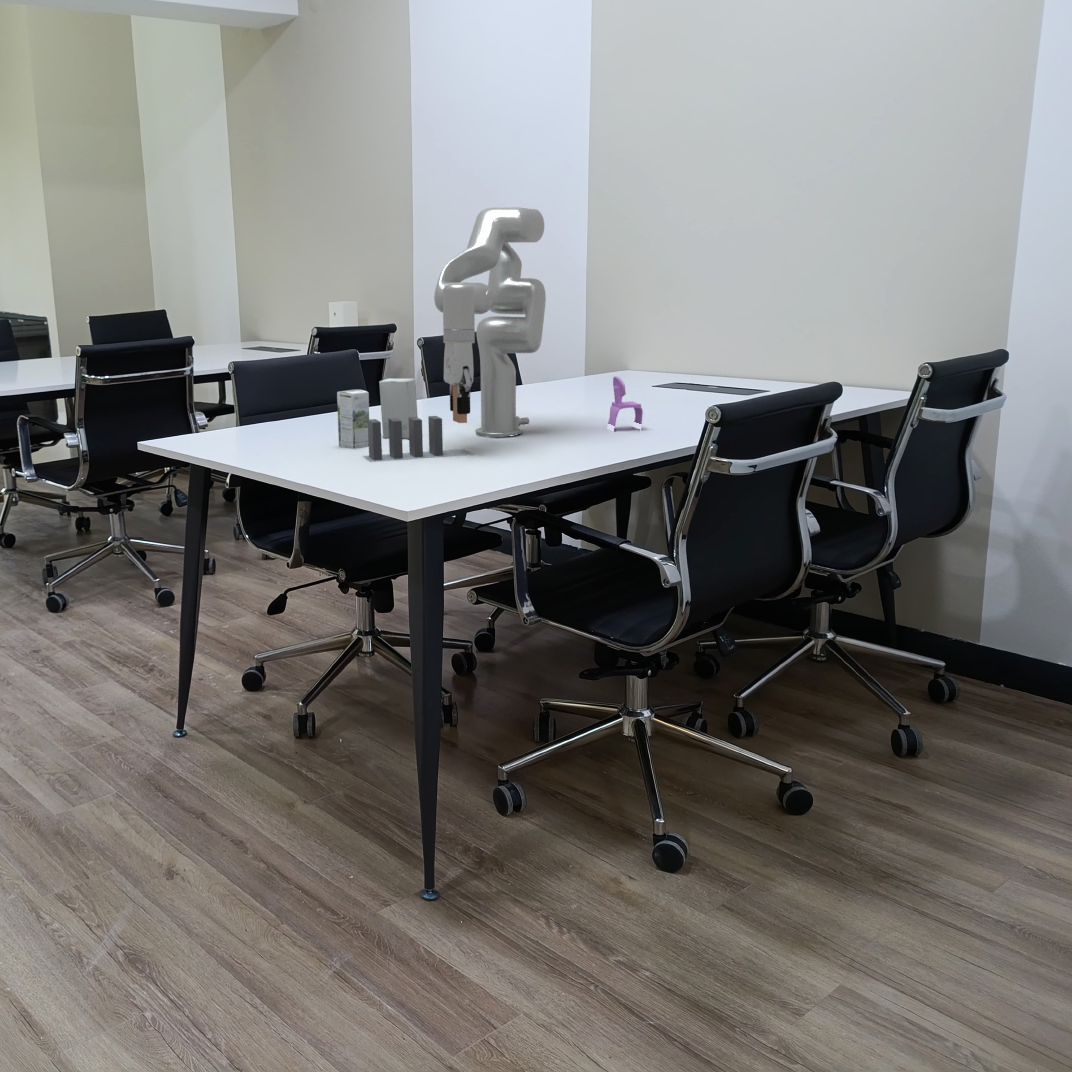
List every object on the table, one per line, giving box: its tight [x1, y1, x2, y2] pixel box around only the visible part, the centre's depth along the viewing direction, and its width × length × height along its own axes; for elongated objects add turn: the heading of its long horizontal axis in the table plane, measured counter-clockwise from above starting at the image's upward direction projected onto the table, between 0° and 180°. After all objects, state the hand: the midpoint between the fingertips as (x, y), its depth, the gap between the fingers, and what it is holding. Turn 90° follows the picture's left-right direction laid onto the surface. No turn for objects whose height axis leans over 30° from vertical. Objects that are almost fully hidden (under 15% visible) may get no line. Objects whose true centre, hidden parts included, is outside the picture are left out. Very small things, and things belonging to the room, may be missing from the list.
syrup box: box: [336, 389, 370, 450], centre depth 266 cm, size 6×6×14 cm
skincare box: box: [378, 377, 419, 440], centre depth 281 cm, size 8×7×16 cm
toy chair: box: [607, 376, 644, 427], centre depth 294 cm, size 8×9×15 cm
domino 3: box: [408, 417, 424, 457], centre depth 254 cm, size 2×5×9 cm, turn 21°
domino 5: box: [452, 385, 468, 424], centre depth 256 cm, size 2×5×9 cm, turn 22°
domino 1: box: [368, 418, 383, 460], centre depth 250 cm, size 2×5×9 cm, turn 21°
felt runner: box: [362, 448, 475, 463], centre depth 255 cm, size 26×8×1 cm, turn 111°
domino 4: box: [427, 415, 444, 456], centre depth 255 cm, size 2×5×9 cm, turn 21°
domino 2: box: [388, 418, 404, 459], centre depth 252 cm, size 2×5×9 cm, turn 21°
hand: (460, 411), depth 256 cm, fingers closed on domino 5, 4 cm apart
